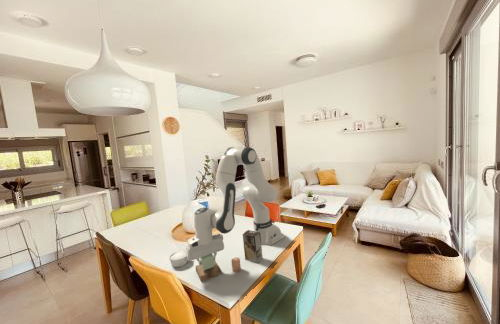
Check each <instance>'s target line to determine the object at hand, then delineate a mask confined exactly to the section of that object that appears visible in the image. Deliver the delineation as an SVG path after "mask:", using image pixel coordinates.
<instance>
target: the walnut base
mask: <svg viewBox="0 0 500 324" xmlns="http://www.w3.org/2000/svg"><path fill="white" fill-rule="evenodd" d="M214 265H215V267H212V268H209V269H207V270H203V268H202V266H201V265H199V264H198V265H195V272H196V274H197V277H198V278H199V280H200V283H202V282H206V281H207V280H209V279H212V278H215V277H218V276H220V275H222V271H221V270H222V269H221V267H220V266H219V264H218V263H217V262H216V259H215V260H214Z"/></svg>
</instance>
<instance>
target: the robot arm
mask: <svg viewBox="0 0 500 324" xmlns="http://www.w3.org/2000/svg"><path fill="white" fill-rule="evenodd" d="M240 165H242V166H243V168H244V172H245V176H246V179H247V181H248V182H249V183H250V185H245V186H244V188H243V189H242V198H243V199H245V200H246V201H247V202H248V203H249V206H250V208H251V210H252V215H253V229H254V230H253V231H255V232H260V236H261V245H267V246H271V245H273V244H275V243H277V242H279V241H281V240H284V239H285V237H286V236H285V234H284V233H283V232H282V231H281V229H280V227H279V226H277V225H276V224H275V223H276V220H275V219H271V218H270V209H269V207H268V206H266V205H265V204H264V203H271V202H275V201H276V200H277V198H278V190H277V189H276V187H275V186H273V185H272V184H270V183H269V181H268V180H267V179H266V177H265V176H264V171H263V169H262V167H263V166H262V164H261V160H260V158H259V156H258V154H257V151H256V150H255V149H254V148H252V147H249V146H232V147H230V146H229V147H228V148H226V150H225V151H224V154H223V155H222V156H221V157H220V160H219V163H218V166H217V169H216V174H215V184H216V186H217V188H219V189H220V191H221V192H222V195H223V204H222V210H220V209H210V208H208V207H206V206H205V207H200V208H198V209H197V210H196V211H195V212H194V215H193V223H194V224H193V225H194V229H195V235H194V236H192V237H190V238H188V239H187V246H186V251H187V259H188V261H189V262H191V261H194V260H196V261H197V262H198V265H202V261H201V260H200V258H201V257H204V256H207V255H210V254H212V255H213V256H214V260H215V261H216V257H217V254H218V252H221V251H223V250H224V249H225V243H224V235H223V234H228V233H230V232H231V231H232V230H233V228H235V223H236V218H235V205H236V194H237V193H236V185H235V184H236V182H235V181H236V176H237V175H236V174H237V167H238V166H240ZM213 229H215V230H217V231H218V232H219V233H217V234H214V235H213Z"/></svg>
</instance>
